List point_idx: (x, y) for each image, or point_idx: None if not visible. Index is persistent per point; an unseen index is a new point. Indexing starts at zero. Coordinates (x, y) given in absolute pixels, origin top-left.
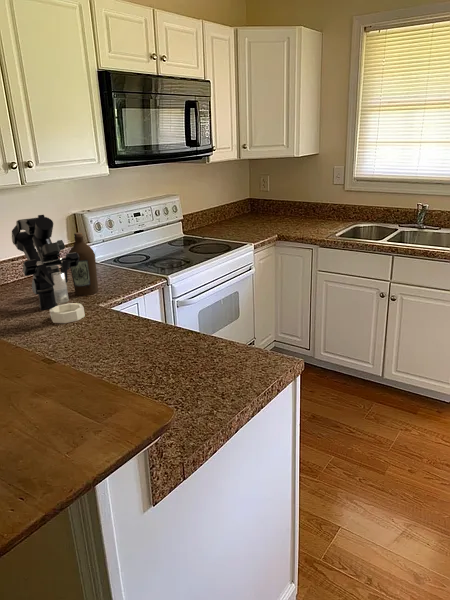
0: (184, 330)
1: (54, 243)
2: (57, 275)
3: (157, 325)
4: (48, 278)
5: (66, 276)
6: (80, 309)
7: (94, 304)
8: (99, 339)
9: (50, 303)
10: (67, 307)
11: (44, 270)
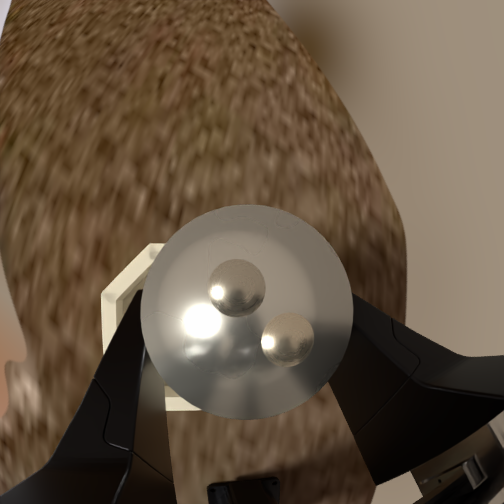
0: (5, 27)
1: None
2: (275, 211)
3: (6, 66)
4: (364, 301)
5: (128, 328)
6: (122, 272)
7: (58, 425)
8: (158, 41)
9: (241, 490)
10: (174, 391)
11: (450, 368)
